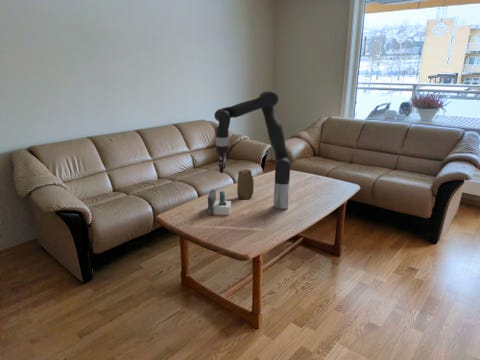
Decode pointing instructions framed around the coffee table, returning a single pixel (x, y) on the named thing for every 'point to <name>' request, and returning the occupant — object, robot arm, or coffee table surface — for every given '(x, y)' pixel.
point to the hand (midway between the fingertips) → (222, 170)
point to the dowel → (222, 198)
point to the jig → (211, 201)
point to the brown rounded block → (245, 184)
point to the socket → (222, 208)
